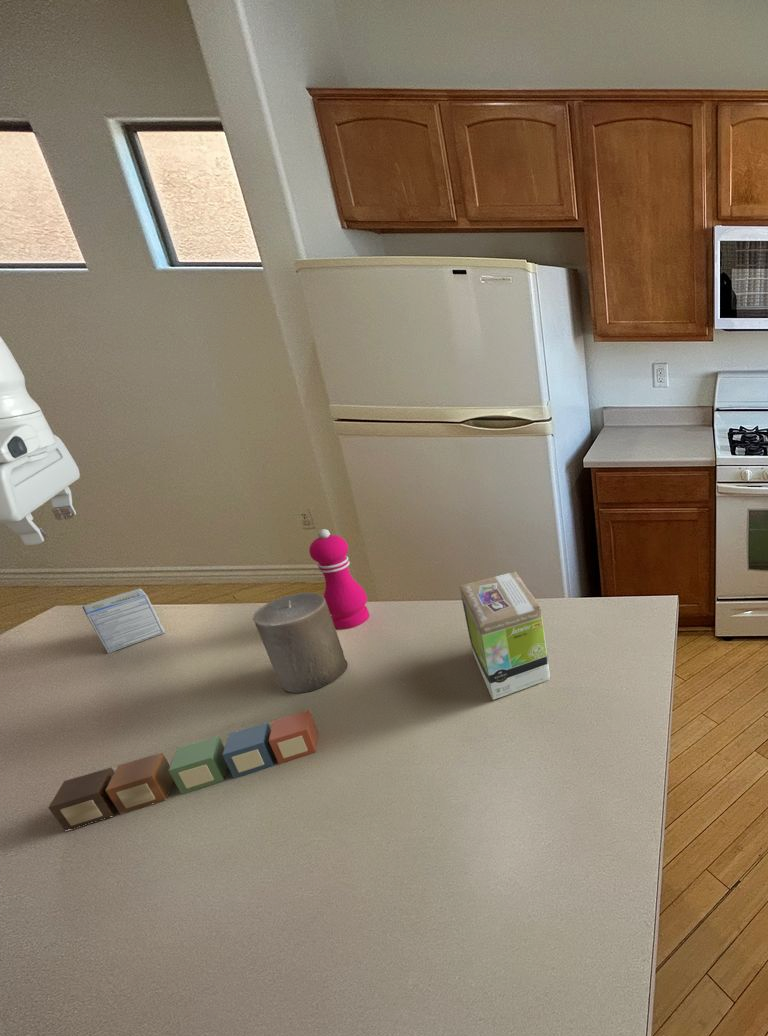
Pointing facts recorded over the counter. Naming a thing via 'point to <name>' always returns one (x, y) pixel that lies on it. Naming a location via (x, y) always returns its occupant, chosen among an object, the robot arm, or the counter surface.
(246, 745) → the slate blue letter block
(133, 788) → the teak letter block
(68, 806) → the walnut letter block
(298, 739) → the terracotta letter block
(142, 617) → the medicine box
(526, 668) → the tea box
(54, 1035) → the counter surface
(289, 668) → the pillar candle
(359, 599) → the pepper mill
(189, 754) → the sage green letter block
